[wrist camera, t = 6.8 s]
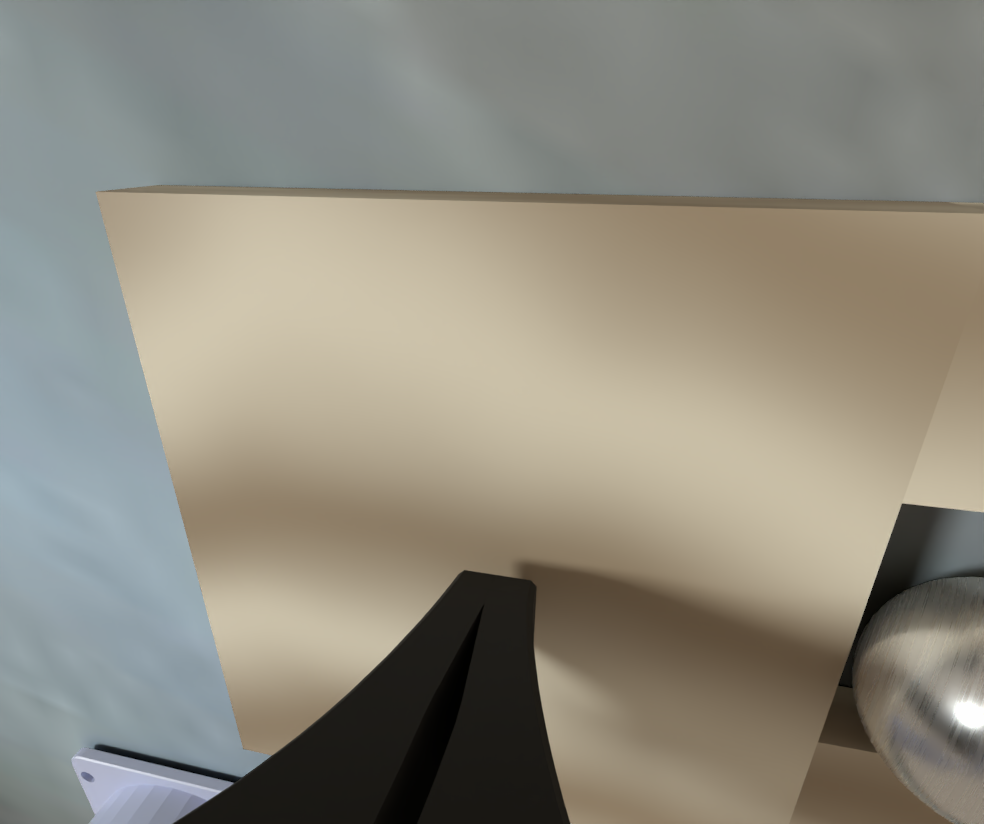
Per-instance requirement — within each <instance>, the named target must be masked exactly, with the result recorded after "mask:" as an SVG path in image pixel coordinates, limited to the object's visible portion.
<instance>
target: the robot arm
mask: <svg viewBox="0 0 984 824" xmlns="http://www.w3.org/2000/svg"><path fill="white" fill-rule="evenodd" d="M536 591H537V586H536V585H535V584H534V583H533V582H532V581H531V580H526V579H520V578H513V577H507V576H500V575H494V574H487V573H481V572H474V571H468V570H464V571H462V572H461V573H459V574H458V575H457V577H456V578H455V579H454V581H453V582H452V583H451V584H450V586H449V587H448V588H447V589H446V591H445V592H444V593H443V594H442V596H441V597H440V598H439V599H438V600H437V602H436V603H435V604H434V605H433V606H432V607H431V609H430V610H429V611H428V612H427V613H426V614H425V615H424V617H423V618H422V619H421V620H420V621H419V622H418V623H417V624H416V626H415V627H414V628H413V629H412V630H411V631H410V632H409V633H408V634H407V635H406V636H405V637H404V638H403V639H402V641H401V642H400V643H399V644H398V645H397V646H396V647H395V648H394V649H393V650H392V651H391V652H390V653H389V654H388V655H387V656H386V657H385V658H384V659H383V660H382V661H381V662H380V663H379V664H378V665H377V666H376V667H375V668H374V669H373V670H372V671H371V672H370V673H369V674H368V675H367V676H366V677H365V678H364V679H363V680H362V681H360V682H359V683H358V684H357V685H356V686H355V687H354V688H353V689H352V690H351V691H350V692H349V693H348V694H347V695H346V696H344V697H343V698H342V699H341V700H340V701H339V702H338V703H337V704H335V705H334V706H333V707H332V708H331V709H330V710H329V711H327V712H326V713H325V714H324V715H323V716H322V717H320V718H319V719H318V720H317V721H315V722H314V723H313V724H312V725H311V726H309V727H308V728H307V729H306V730H305V731H303V732H302V733H301V734H300V735H298V736H297V737H296V738H295V739H293V740H292V741H291V742H289V743H288V744H287V745H285V746H284V747H283V748H281V749H280V750H279V751H277V752H276V753H275V754H273V755H272V756H271V757H270V758H268V759H267V760H266V761H264V762H263V763H262V764H260V765H259V766H258V767H256V768H255V769H253V770H252V771H251V772H249V773H248V774H246V775H245V776H244V777H242V778H241V779H239V780H238V781H237V782H235V783H233V782H229V781H225V780H221V779H216V778H212V777H208V776H204V775H200V774H196V773H191V772H187V771H183V770H179V769H175V768H171V767H167V766H162V765H158V764H154V763H150V762H146V761H142V760H137V759H133V758H129V757H125V756H121V755H117V754H112V753H108V752H104V751H100V750H96V749H92V748H82V749H80V750H79V751H78V752H77V753H76V754H75V755H74V757H73V758H72V765H73V767H74V770H75V772H76V774H77V776H78V778H79V780H80V783H81V785H82V787H83V789H84V791H85V794H86V796H87V798H88V800H89V802H90V805H91V807H92V809H93V811H94V813H95V816H94V818H93V819H92V820H91V821H90V823H89V824H570V821H569V817H568V814H567V810H566V807H565V803H564V800H563V796H562V792H561V788H560V785H559V781H558V777H557V773H556V769H555V765H554V761H553V757H552V753H551V748H550V744H549V739H548V734H547V729H546V724H545V719H544V714H543V709H542V703H541V698H540V692H539V685H538V677H537V669H536V662H535V653H534V628H535V610H536Z"/></svg>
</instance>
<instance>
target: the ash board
mask: <svg viewBox="0 0 984 824" xmlns="http://www.w3.org/2000/svg"><path fill="white" fill-rule="evenodd" d="M96 194H97V198H98V202H99V206H100V209H101V213H102V217H103V221H104V225H105V228H106V232H107V236H108V240H109V243H110V247H111V251H112V255H113V259H114V262H115V266H116V270H117V274H118V277H119V281H120V285H121V289H122V293H123V296H124V300H125V304H126V308H127V311H128V315H129V319H130V323H131V327H132V330H133V334H134V338H135V342H136V345H137V349H138V353H139V357H140V361H141V364H142V368H143V372H144V376H145V379H146V383H147V387H148V391H149V395H150V398H151V402H152V406H153V410H154V413H155V417H156V421H157V425H158V429H159V432H160V436H161V440H162V444H163V447H164V451H165V455H166V459H167V463H168V466H169V470H170V474H171V478H172V481H173V485H174V489H175V493H176V496H177V500H178V504H179V508H180V512H181V515H182V519H183V523H184V527H185V530H186V534H187V538H188V542H189V546H190V549H191V553H192V557H193V561H194V564H195V568H196V572H197V576H198V580H199V583H200V587H201V591H202V595H203V598H204V602H205V606H206V610H207V614H208V617H209V621H210V625H211V629H212V632H213V636H214V640H215V644H216V648H217V651H218V655H219V659H220V663H221V666H222V670H223V674H224V678H225V682H226V685H227V689H228V693H229V697H230V700H231V704H232V708H233V712H234V716H235V719H236V723H237V727H238V731H239V734H240V738H241V742H242V746H243V749H246V750H251V751H255V752H260V753H264V754H268V755H273V754H275V753H276V752H277V751H279V750H280V749H281V748H283V747H284V746H285V745H287V744H288V743H289V742H291V741H292V740H293V739H295V738H296V737H297V736H298V735H300V734H301V733H302V732H303V731H305V730H306V729H307V728H308V727H309V726H311V725H312V724H313V723H314V722H315V721H317V720H318V719H319V718H320V717H322V716H323V715H324V714H325V713H326V712H327V711H329V710H330V709H331V708H332V707H333V706H334V705H335V704H337V703H338V702H339V701H340V700H341V699H342V698H343V697H344V696H346V695H347V694H348V693H349V692H350V691H351V690H352V689H353V688H354V687H355V686H356V685H357V684H358V683H359V682H360V681H362V680H363V679H364V678H365V677H366V676H367V675H368V674H369V673H370V672H371V671H372V670H373V669H374V668H375V667H376V666H377V665H378V664H379V663H380V662H381V661H382V660H383V659H384V658H385V657H386V656H387V655H388V654H389V653H390V652H391V651H392V650H393V649H394V648H395V647H396V646H397V645H398V644H399V643H400V642H401V641H402V639H403V638H404V637H405V636H406V635H407V634H408V633H409V632H410V631H411V630H412V629H413V628H414V627H415V626H416V624H417V623H418V622H419V621H420V620H421V619H422V618H423V617H424V615H425V614H426V613H427V612H428V611H429V610H430V609H431V607H432V606H433V605H434V604H435V603H436V602H437V600H438V599H439V598H440V597H441V596H442V594H443V593H444V592H445V591H446V589H447V588H448V587H449V586H450V584H451V583H452V582H453V581H454V579H455V578H456V577H457V575H458V574H459V573H461V572H462V571H464V570H468V571H474V572H481V573H487V574H494V575H500V576H507V577H513V578H520V579H526V580H531V581H532V582H533V583H534V584H535V585H536V586H537V591H536V610H535V628H534V653H535V662H536V669H537V677H538V685H539V692H540V698H541V703H542V709H543V714H544V719H545V724H546V729H547V734H548V739H549V744H550V748H551V753H552V757H553V761H554V765H555V769H556V773H557V777H558V781H559V785H560V788H561V792H562V796H563V800H564V803H565V807H566V810H567V814H568V817H569V821H570V823H572V824H953V823H952V822H950V821H948V820H947V819H945V818H944V817H942V816H941V815H939V814H938V813H936V812H935V811H934V810H932V809H931V808H930V807H928V806H927V805H926V804H925V803H923V802H922V801H921V800H920V799H918V798H917V797H916V796H915V795H914V794H913V793H912V792H911V791H910V790H909V789H907V788H906V787H905V786H904V785H903V784H902V783H901V782H900V781H899V779H898V778H897V777H896V776H895V775H894V774H893V773H892V771H891V770H890V769H889V768H888V767H887V765H886V764H885V763H884V761H883V760H882V758H881V757H880V755H879V754H878V753H877V751H876V750H875V748H874V746H873V744H872V743H871V741H870V739H869V737H868V735H867V734H866V731H865V729H864V726H863V724H862V722H861V719H860V717H859V713H858V710H857V706H856V703H855V698H854V691H853V688H849V687H843V686H838V683H839V681H840V678H841V675H842V672H843V669H844V666H845V664H846V661H847V658H848V655H849V652H850V649H851V647H852V644H853V641H854V638H855V635H856V632H857V630H858V627H859V624H860V621H861V618H862V615H863V612H864V610H865V607H866V604H867V601H868V598H869V595H870V593H871V590H872V587H873V584H874V581H875V578H876V576H877V573H878V570H879V567H880V564H881V561H882V559H883V556H884V553H885V550H886V547H887V544H888V542H889V539H890V536H891V533H892V530H893V527H894V525H895V522H896V519H897V516H898V513H899V510H900V507H901V505H902V503H904V504H913V505H922V506H931V507H940V508H949V509H958V510H967V511H976V512H984V203H964V202H918V201H872V200H826V199H779V198H733V197H687V196H641V195H595V194H548V193H502V192H456V191H410V190H364V189H317V188H271V187H225V186H179V185H156V186H146V187H137V188H127V189H117V190H108V191H98V192H96Z"/></svg>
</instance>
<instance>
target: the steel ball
mask: <svg viewBox="0 0 984 824" xmlns="http://www.w3.org/2000/svg"><path fill="white" fill-rule="evenodd" d="M852 685H853V691H854V698H855V703H856V706H857V710H858V713H859V717H860V719H861V722H862V724H863V726H864V729H865V731H866V734H867V735H868V737H869V739H870V741H871V743H872V744H873V746H874V748H875V750H876V751H877V753H878V754H879V755H880V757H881V758H882V760H883V761H884V763H885V764H886V765H887V767H888V768H889V769H890V770H891V771H892V773H893V774H894V775H895V776H896V777H897V778H898V779H899V781H900V782H901V783H902V784H903V785H904V786H905V787H906V788H907V789H909V790H910V791H911V792H912V793H913V794H914V795H915V796H916V797H917V798H918V799H920V800H921V801H922V802H923V803H925V804H926V805H927V806H928V807H930V808H931V809H932V810H934V811H935V812H936V813H938V814H939V815H941V816H942V817H944V818H945V819H947V820H948V821H950V822H952V823H953V824H984V578H983V577H954V578H945V579H939V580H934V581H930V582H926V583H923V584H920V585H917V586H915V587H912V588H909V589H907V590H906V591H904V592H902V593H900V594H898V595H896V596H895V597H893V598H892V599H891V600H889V601H888V602H887V603H885V604H884V605H883V606H882V607H881V608H880V609H879V610H878V611H877V612H876V613H875V614H874V615H873V616H872V618H871V619H870V620H869V622H868V623H867V625H866V626H865V628H864V630H863V632H862V634H861V636H860V638H859V640H858V643H857V647H856V650H855V653H854V660H853V667H852Z"/></svg>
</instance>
